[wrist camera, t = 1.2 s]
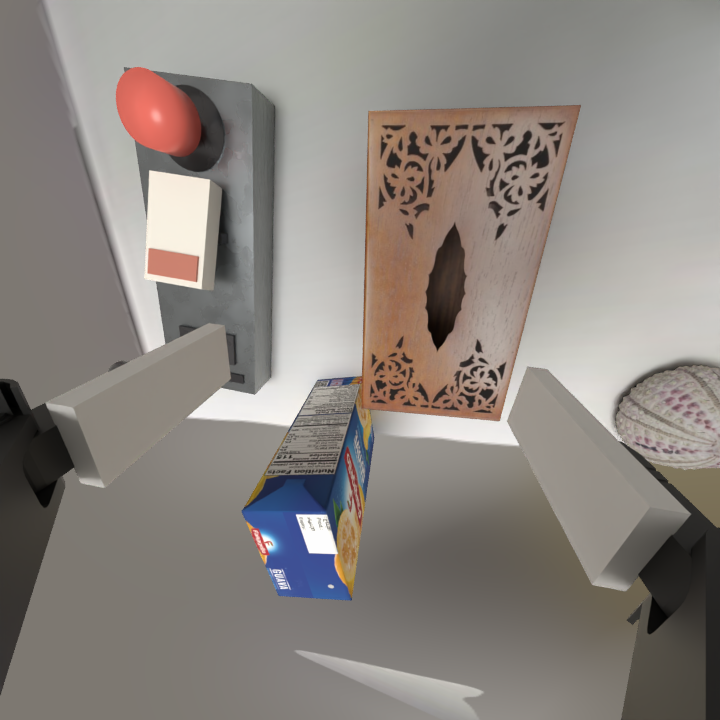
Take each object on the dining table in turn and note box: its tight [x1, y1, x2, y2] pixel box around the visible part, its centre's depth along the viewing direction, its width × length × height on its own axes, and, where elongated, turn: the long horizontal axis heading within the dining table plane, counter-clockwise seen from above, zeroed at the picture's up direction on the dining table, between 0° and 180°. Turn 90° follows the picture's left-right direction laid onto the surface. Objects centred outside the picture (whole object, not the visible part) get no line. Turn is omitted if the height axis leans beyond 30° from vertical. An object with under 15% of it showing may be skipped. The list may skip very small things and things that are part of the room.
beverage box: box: [242, 376, 374, 600], centre depth 34 cm, size 7×11×22 cm, turn 9°
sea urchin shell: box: [616, 365, 720, 470], centre depth 34 cm, size 13×14×8 cm
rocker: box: [145, 170, 222, 291], centre depth 29 cm, size 10×6×2 cm, turn 172°
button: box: [116, 67, 201, 157], centre depth 24 cm, size 5×5×3 cm
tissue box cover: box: [361, 105, 581, 421], centre depth 30 cm, size 26×14×10 cm, turn 179°
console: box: [124, 67, 275, 394], centre depth 34 cm, size 32×12×6 cm, turn 172°
